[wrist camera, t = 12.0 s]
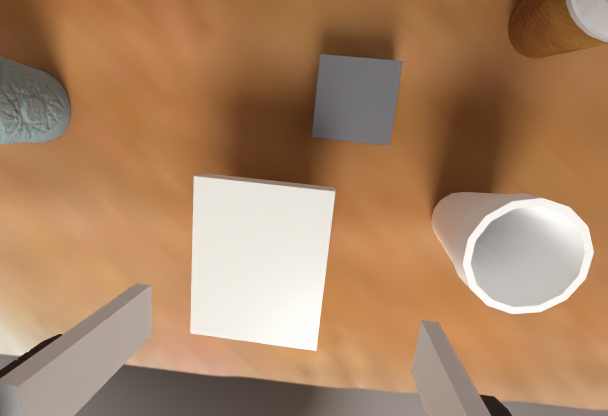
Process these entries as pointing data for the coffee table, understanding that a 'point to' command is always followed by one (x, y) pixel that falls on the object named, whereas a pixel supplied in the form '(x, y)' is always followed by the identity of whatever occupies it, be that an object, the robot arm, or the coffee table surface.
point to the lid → (259, 259)
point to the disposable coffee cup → (558, 26)
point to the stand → (356, 99)
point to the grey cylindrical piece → (31, 104)
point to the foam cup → (514, 248)
